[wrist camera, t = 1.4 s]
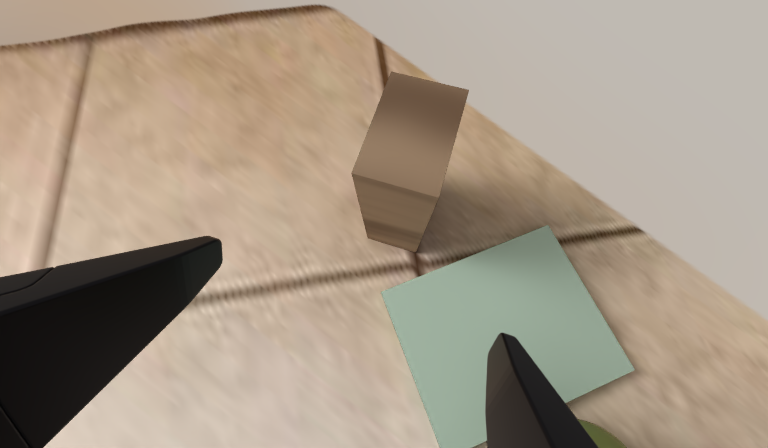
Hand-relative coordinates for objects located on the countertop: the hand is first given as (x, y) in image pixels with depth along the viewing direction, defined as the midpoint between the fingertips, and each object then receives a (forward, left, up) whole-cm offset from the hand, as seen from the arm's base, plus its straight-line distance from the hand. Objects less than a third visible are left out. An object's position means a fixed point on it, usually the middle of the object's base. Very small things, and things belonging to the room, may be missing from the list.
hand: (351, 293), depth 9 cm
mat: (+8, -5, -13) cm, 16 cm away
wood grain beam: (+5, +6, -13) cm, 16 cm away
